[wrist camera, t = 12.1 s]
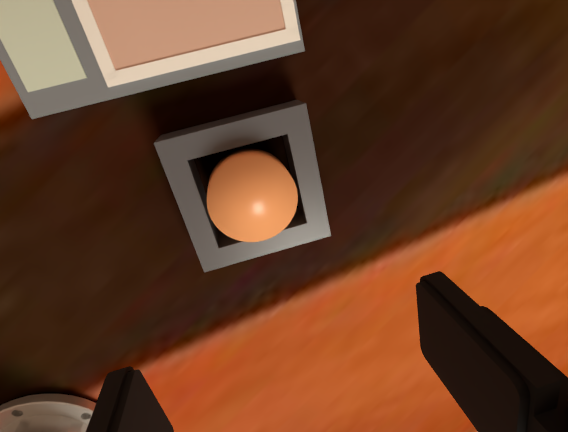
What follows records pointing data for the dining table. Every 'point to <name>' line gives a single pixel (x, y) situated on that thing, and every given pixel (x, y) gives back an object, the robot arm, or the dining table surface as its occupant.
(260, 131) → the button housing
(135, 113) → the dining table surface
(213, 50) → the picture board
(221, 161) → the button
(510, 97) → the dining table surface
